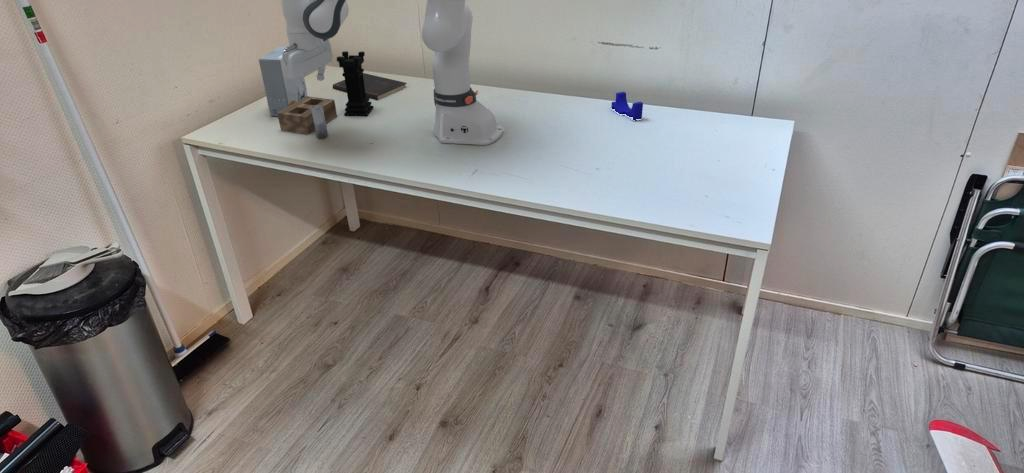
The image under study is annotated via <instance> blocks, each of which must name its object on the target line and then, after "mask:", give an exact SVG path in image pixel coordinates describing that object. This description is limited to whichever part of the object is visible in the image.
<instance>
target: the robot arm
mask: <svg viewBox="0 0 1024 473" xmlns="http://www.w3.org/2000/svg"><path fill="white" fill-rule="evenodd" d="M281 9H282V14H283V17H284V20H285V23H286V29H285V30H286V35H287V36H286V37H287V39H288V45H289V46H285V47H286V48H285V49H284V52H283V53H282V69H283V75H284V77H285V78H286V79H288V80H294V81H295V82H296V84H297V85H298V89H299V90H300V91H304V90H307V85H306V83H305V84H303V82H302V80H303V78H302V76H304V77H305V76H306V75H308V74H310V73H311V72H314V71H316V70H317V74H316V80H317V81H320V82H322V81H323V80H325V72H326V71H325V70H326V65H328V64H329V63H331V62H332V61H333V51H332V44H331V41H330V39H332V38H334V37H335V36H336V35H337V34H338V32H339V30H340V28H341V27H342V25H343V24H344V22H345V21H346V19H347V17H348V16H349V6H348V3H347V0H281ZM423 20H424V21H423V25H422V27H421V28H422V29H421V39H422V41H423V43H424V45H425V47H427V48H428V49H429V50H431V51H432V52H434V55H433V56H434V58H433V62H432V73H433V85H434V86H433V87H434V88H433V101H434V106H435V118H434V125H433V130H432V133H433V135H434V136H435V137H437V138H438V140H439V142H440V143H443V144H456V145H457V144H459V145H460V144H462V145H478V146H479V145H481V146H487V145H490V144H493V143H495V142H496V141H497V140H499V139H500V138H501V136H502V135H503V133H504V127H503V126H502V125H499V124H497V121H496V118H495V117H496V116H495V114H494V112H492V111H491V110H490V109H489V108H487V106H485V105H484V104H482V103H481V102H480V101H478V100H477V95H478V94H479V93H478V92H479V91H478V90H476V91H475V92H474V90H473V88H472V87H471V78H470V77H471V76H470V54H471V44H472V42H471V41H472V25H473V13H472V10H471V9H470V7H469V6H468V5H467V4H466V0H426V8H425V13H424V19H423ZM285 51H286V52H285Z"/></svg>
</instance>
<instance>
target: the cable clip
mask: <svg viewBox="0 0 1024 473" xmlns="http://www.w3.org/2000/svg"><path fill="white" fill-rule="evenodd" d="M611 108H612V109H615V111H616V112H618V113H619V114H626V115H627V116H629V117H633V120H636V119H641V118H642V119H643V108H644V102H642V101H637V102H632V106H631V108H630V106H629V103H628V101H627V92H625V91H620V92H615V101H612V102H611Z"/></svg>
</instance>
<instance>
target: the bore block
mask: <svg viewBox="0 0 1024 473" xmlns="http://www.w3.org/2000/svg"><path fill="white" fill-rule="evenodd" d="M314 105H322V106H323V110H324V116H325V121H326V124H328V123H330V122H331V121H332V120H334V119H336V118H338V113H337V112H338V111H337V108H336V102H335V99H333V98H332V99H331V98H323V97H315V96H310V95H309V96H306V97H305V98H303V99H301V100H299V101H298V102H296V103H294V104H292V105H290V106H289V107H287V108H285V109H283V110H282V111H280V112H278V113H277V114H278V116H277V119H278V123H279V127H280V131H284V132H290V133H295V134H296V133H297V134H303V135H311V134H312V133H314V132H316V131H315V126H314V121H313V116H312V111H311V107H312V106H314Z"/></svg>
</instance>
